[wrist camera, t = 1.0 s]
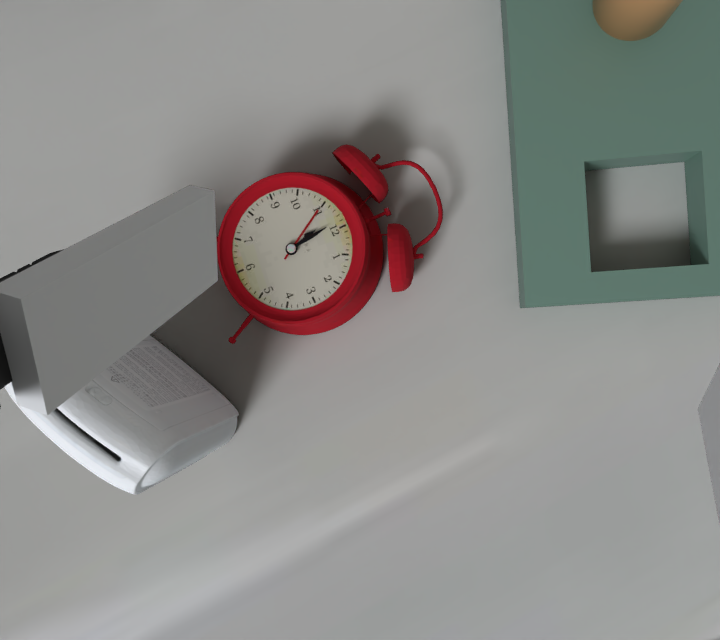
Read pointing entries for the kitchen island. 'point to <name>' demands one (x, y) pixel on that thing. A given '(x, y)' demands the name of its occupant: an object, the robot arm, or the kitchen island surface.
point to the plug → (633, 17)
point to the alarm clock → (313, 247)
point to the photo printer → (140, 419)
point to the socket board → (608, 141)
